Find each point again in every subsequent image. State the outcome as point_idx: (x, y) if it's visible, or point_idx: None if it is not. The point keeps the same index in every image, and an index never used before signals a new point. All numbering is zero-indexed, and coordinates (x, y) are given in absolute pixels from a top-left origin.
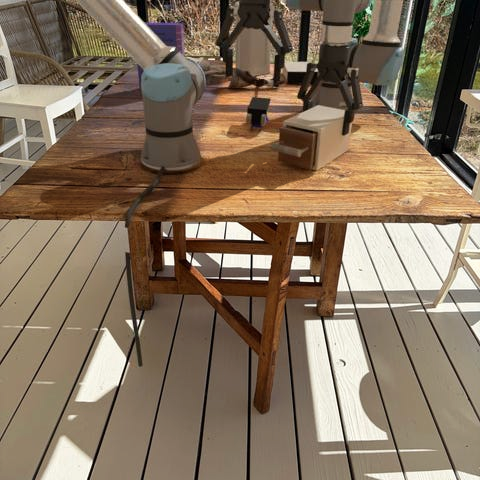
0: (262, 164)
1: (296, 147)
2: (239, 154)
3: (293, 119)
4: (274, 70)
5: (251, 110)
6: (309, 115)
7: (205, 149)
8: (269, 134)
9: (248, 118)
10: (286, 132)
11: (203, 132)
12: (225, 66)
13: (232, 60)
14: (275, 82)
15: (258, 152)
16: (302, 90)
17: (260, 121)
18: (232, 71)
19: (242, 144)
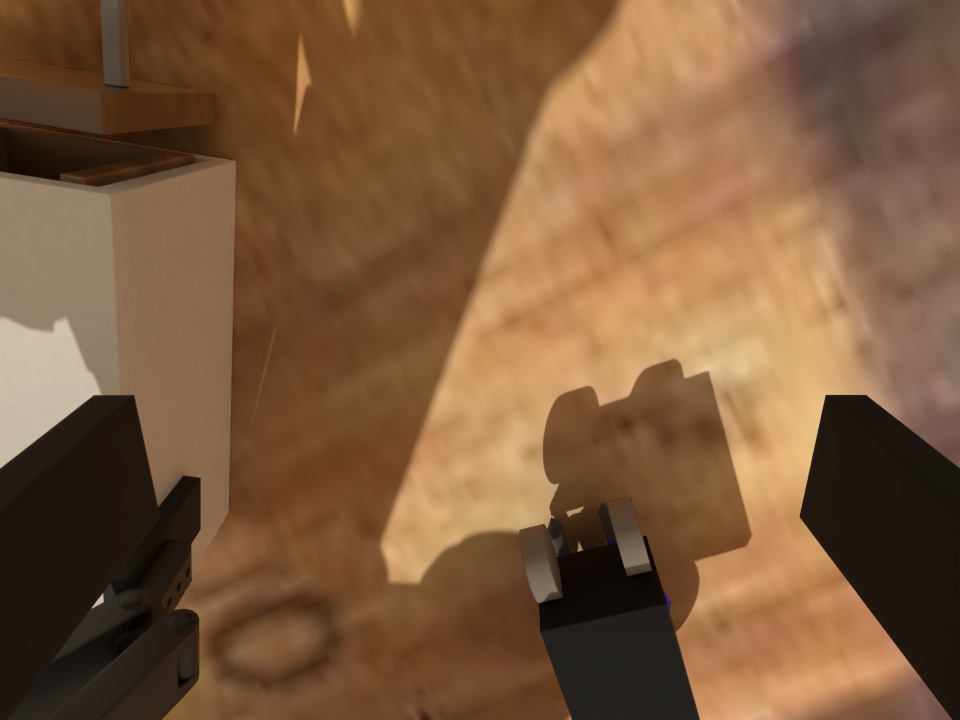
0: (301, 46)
1: (8, 67)
2: (504, 134)
3: (69, 276)
4: (25, 482)
5: (637, 601)
6: (33, 430)
7: (739, 105)
8: (492, 508)
9: (622, 521)
10: (45, 80)
11: (863, 371)
12: (957, 468)
13: (914, 653)
14: (99, 398)
15: (417, 224)
16: (120, 663)
17: (568, 569)
18: (824, 536)
19: (561, 299)
